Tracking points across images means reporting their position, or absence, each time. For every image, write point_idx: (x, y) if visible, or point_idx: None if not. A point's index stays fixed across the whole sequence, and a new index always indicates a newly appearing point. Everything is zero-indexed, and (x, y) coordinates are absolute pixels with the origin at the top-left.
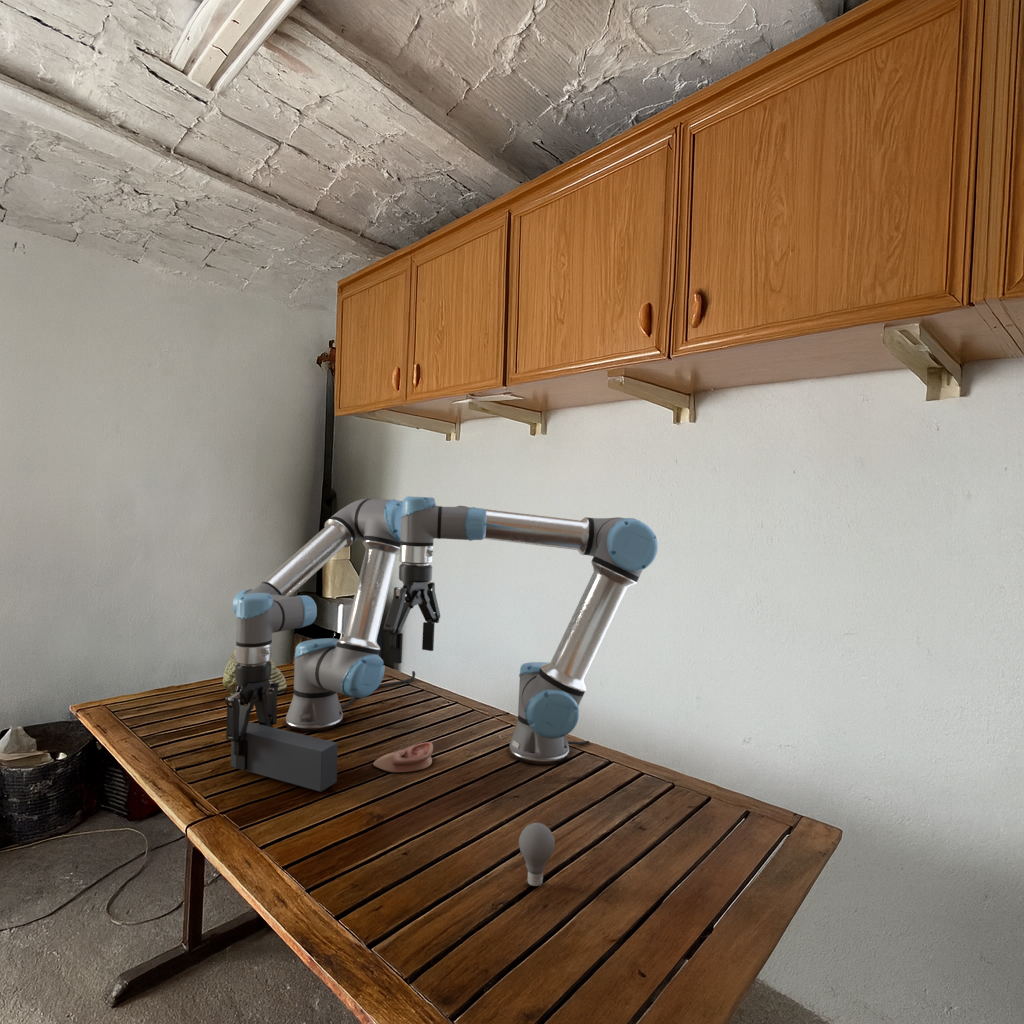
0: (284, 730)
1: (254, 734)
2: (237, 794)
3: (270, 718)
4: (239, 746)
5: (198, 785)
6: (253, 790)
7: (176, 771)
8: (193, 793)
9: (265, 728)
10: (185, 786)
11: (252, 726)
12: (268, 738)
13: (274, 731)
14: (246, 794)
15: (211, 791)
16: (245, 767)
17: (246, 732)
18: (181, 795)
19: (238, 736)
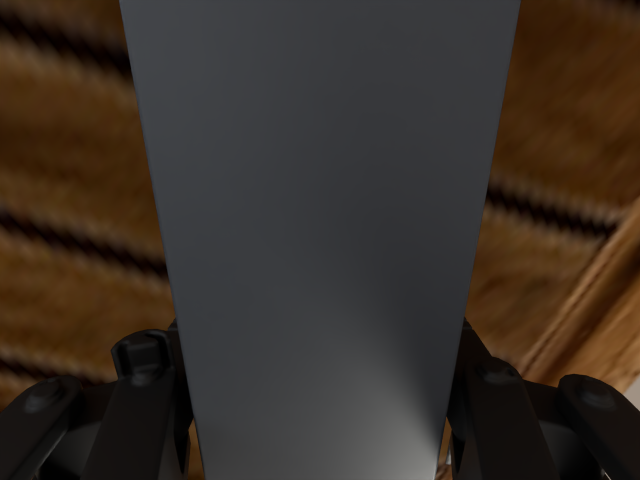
0: (146, 66)
1: (461, 321)
2: (543, 130)
3: (38, 475)
4: (476, 345)
5: (516, 335)
6: None
7: (444, 464)
8: (586, 300)
9: (253, 344)
10: (539, 365)
11: (288, 473)
12: (508, 59)
13: (261, 180)
14: (531, 89)
15: (549, 255)
16: None
17: (442, 421)
18: (613, 323)
19: (581, 409)
